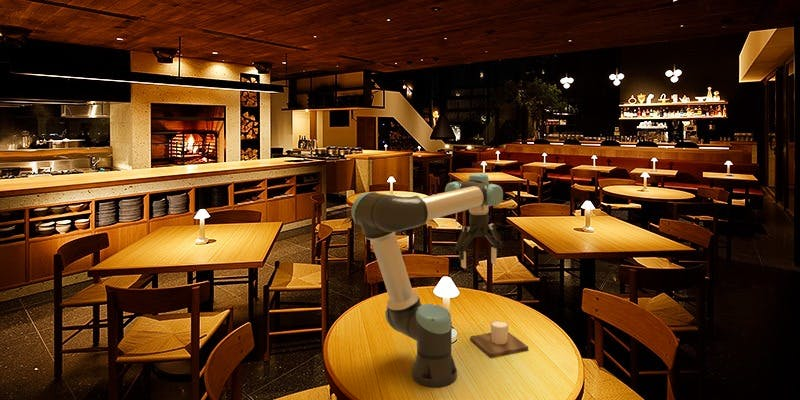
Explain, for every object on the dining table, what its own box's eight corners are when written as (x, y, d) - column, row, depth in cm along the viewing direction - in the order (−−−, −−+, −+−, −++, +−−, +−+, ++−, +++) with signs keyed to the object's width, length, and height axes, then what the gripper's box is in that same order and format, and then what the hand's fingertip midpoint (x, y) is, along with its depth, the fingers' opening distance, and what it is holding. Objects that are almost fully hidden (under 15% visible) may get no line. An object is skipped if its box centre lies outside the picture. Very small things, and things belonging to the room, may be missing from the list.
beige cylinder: (508, 345, 176) (508, 328, 175) (490, 344, 177) (490, 327, 176) (508, 338, 183) (508, 320, 182) (490, 336, 184) (490, 319, 183)
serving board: (490, 357, 170) (490, 354, 170) (470, 340, 185) (470, 336, 185) (528, 350, 175) (528, 346, 175) (505, 333, 190) (505, 330, 190)
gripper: (454, 217, 176) (454, 271, 179) (511, 212, 184) (511, 264, 187) (445, 214, 183) (446, 266, 186) (501, 209, 191) (501, 259, 194)
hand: (478, 265), depth 187 cm, fingers open, 13 cm apart
